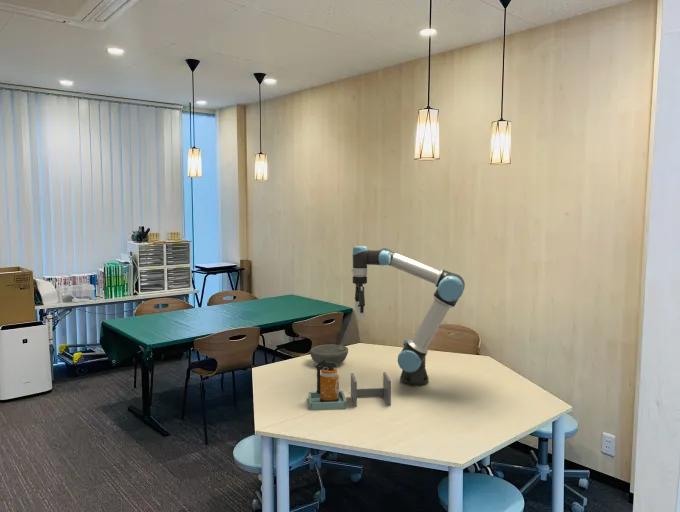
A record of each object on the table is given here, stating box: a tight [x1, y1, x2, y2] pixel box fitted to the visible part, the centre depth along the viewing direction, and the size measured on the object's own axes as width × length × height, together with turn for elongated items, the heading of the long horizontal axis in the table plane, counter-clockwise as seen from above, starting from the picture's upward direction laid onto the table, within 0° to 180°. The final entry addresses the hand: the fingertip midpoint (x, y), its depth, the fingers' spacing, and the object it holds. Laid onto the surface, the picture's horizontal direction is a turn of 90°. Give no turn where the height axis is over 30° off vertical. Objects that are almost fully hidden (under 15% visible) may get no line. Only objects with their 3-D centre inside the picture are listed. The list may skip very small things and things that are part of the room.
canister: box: [315, 360, 340, 402], centre depth 253 cm, size 9×11×20 cm
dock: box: [350, 371, 392, 408], centre depth 256 cm, size 17×14×12 cm
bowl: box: [309, 343, 349, 366], centre depth 316 cm, size 23×22×10 cm
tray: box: [308, 390, 348, 411], centre depth 253 cm, size 17×15×3 cm
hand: (359, 316), depth 277 cm, fingers open, 13 cm apart
